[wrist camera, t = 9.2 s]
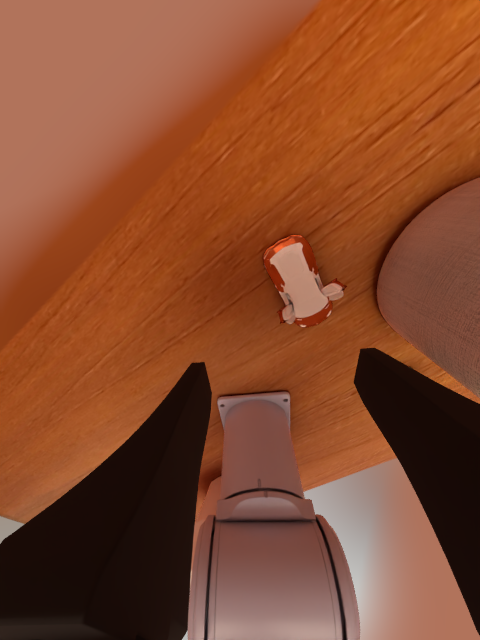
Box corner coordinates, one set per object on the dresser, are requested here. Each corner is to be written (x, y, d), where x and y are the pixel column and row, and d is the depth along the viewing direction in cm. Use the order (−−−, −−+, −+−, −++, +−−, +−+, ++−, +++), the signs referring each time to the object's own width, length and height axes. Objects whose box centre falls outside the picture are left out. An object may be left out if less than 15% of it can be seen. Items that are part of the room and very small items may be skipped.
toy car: (287, 332, 20) (295, 353, 17) (248, 255, 16) (250, 265, 14) (343, 308, 19) (361, 327, 16) (313, 219, 15) (329, 223, 12)
